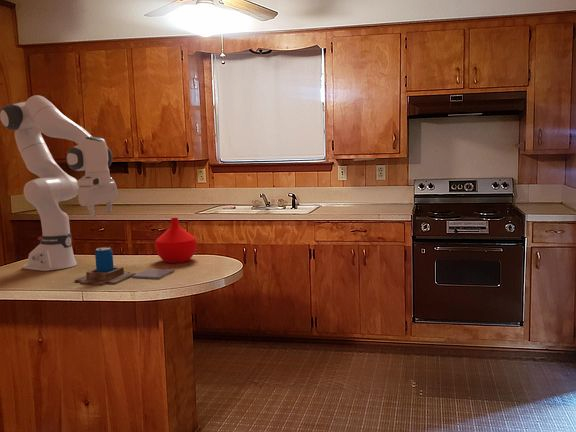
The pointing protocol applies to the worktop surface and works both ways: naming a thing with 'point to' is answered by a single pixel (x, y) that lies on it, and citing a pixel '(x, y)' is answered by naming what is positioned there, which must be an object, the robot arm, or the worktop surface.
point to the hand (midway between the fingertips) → (101, 215)
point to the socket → (105, 277)
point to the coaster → (153, 273)
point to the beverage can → (104, 259)
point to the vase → (175, 244)
